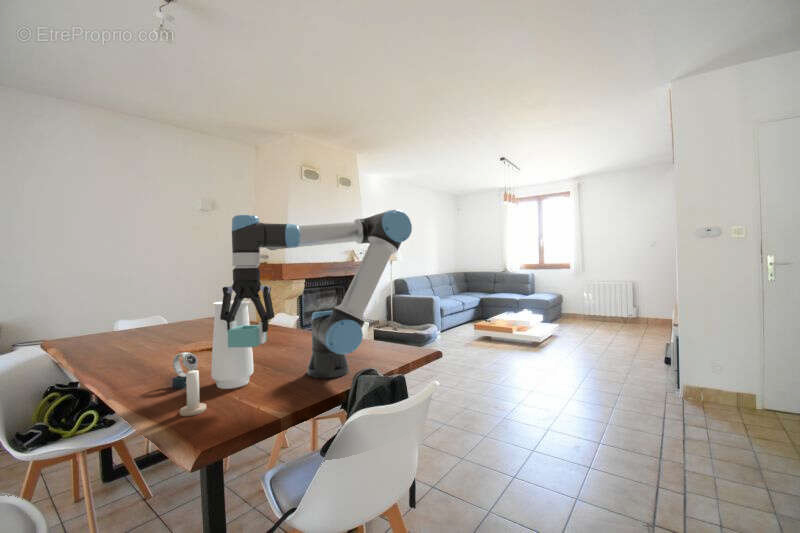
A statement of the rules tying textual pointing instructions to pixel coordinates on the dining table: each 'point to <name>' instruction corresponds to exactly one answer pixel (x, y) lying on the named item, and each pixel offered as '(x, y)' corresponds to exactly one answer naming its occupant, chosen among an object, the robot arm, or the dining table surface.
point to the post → (192, 395)
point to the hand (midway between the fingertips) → (248, 343)
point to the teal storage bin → (244, 336)
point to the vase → (230, 351)
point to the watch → (188, 361)
